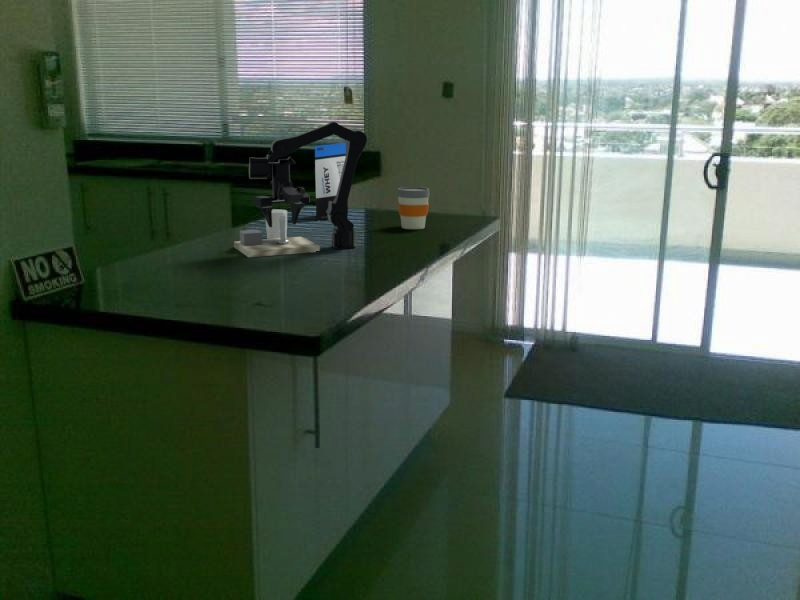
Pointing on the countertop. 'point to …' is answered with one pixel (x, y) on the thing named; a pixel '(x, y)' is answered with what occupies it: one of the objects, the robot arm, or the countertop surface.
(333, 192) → the protein powder
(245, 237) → the cover
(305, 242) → the panel
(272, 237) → the white cup
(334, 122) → the robot arm
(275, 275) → the countertop surface
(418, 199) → the reusable coffee cup
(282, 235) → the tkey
